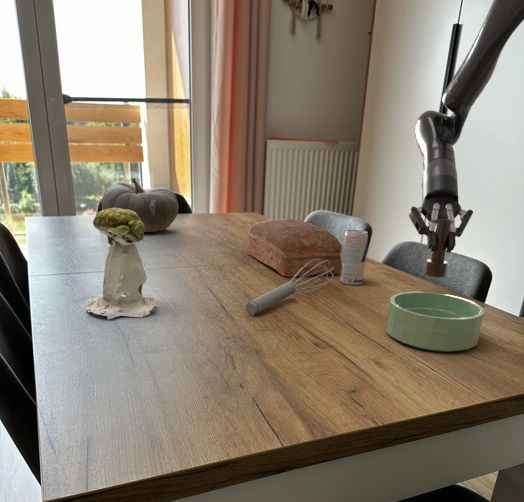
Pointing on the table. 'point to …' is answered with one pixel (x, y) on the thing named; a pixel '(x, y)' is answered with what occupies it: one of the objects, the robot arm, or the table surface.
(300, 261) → the bread
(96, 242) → the table surface
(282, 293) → the kitchen whisk
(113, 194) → the gourd
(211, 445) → the table surface
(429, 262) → the pestle
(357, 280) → the energy drink
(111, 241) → the mushroom
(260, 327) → the table surface
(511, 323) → the table surface
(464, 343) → the bowl
